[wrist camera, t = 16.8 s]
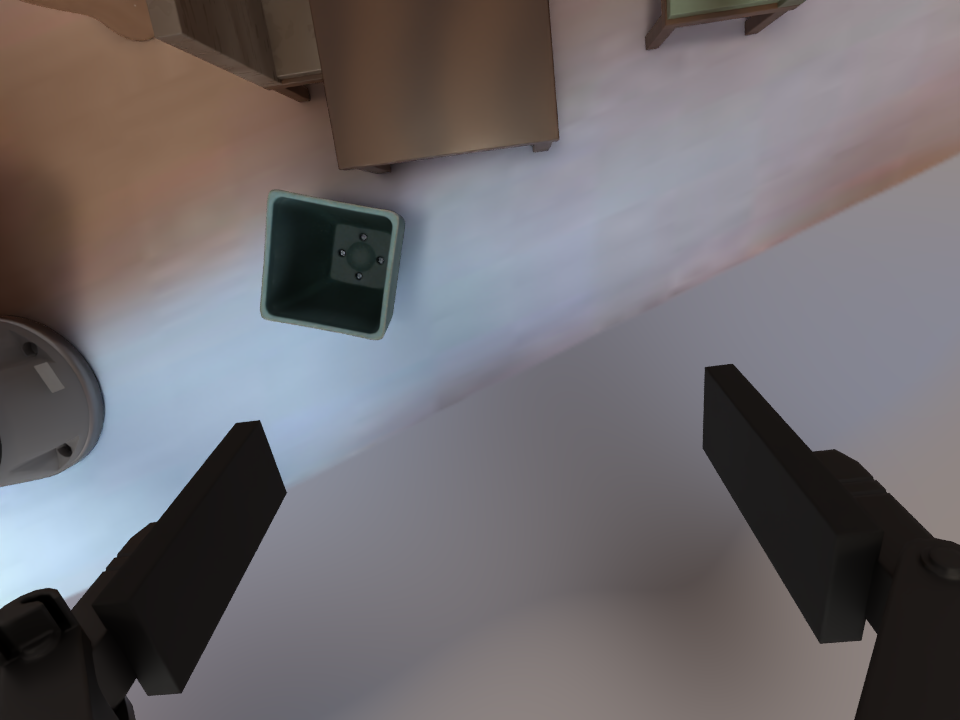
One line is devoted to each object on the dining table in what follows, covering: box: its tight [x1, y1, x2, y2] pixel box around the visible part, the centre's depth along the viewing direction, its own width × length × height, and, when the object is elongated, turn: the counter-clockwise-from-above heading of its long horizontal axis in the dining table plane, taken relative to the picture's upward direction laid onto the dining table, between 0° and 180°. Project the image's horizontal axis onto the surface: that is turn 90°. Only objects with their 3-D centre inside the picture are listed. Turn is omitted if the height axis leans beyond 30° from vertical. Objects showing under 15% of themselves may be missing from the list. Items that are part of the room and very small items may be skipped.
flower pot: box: [260, 190, 405, 340], centre depth 41 cm, size 9×9×9 cm
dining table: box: [309, 0, 559, 174], centre depth 36 cm, size 14×20×9 cm
